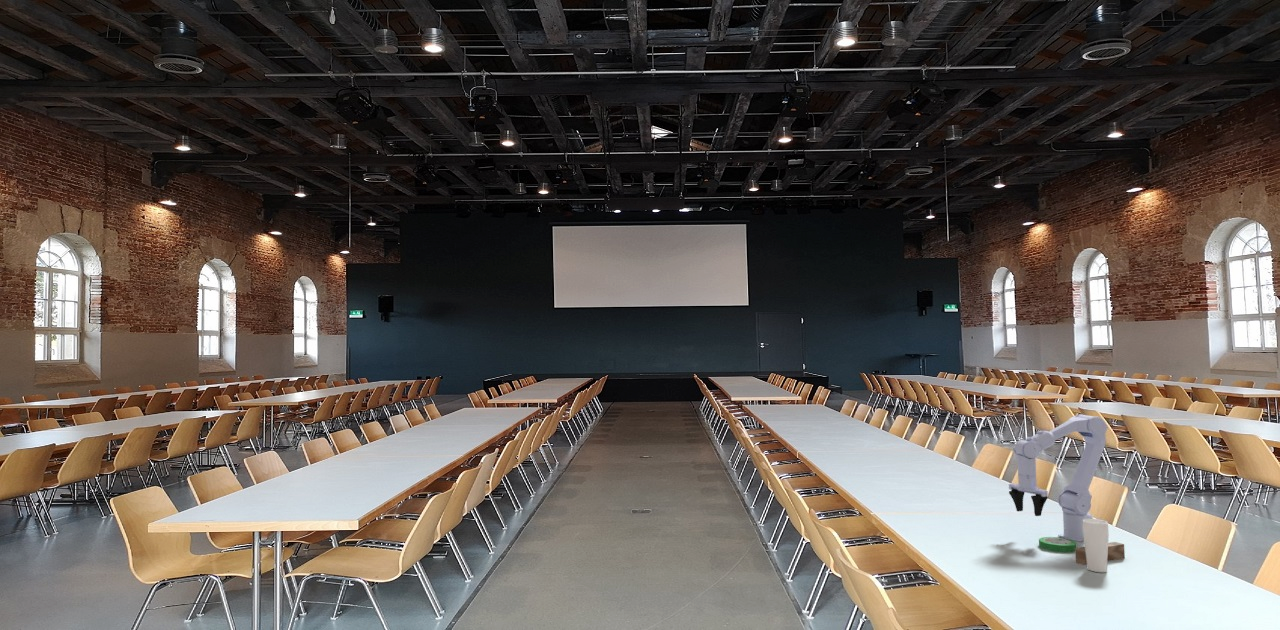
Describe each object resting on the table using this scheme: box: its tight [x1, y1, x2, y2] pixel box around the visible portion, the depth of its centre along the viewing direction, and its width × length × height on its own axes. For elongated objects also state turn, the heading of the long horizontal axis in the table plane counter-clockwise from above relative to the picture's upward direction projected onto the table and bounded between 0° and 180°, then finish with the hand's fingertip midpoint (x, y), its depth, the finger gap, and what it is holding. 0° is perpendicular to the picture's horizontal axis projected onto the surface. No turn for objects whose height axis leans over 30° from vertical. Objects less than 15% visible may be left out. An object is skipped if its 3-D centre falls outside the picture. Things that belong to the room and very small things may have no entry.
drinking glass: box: [1083, 518, 1110, 573], centre depth 223 cm, size 7×7×15 cm
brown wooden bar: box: [1074, 541, 1126, 566], centre depth 232 cm, size 18×3×4 cm, turn 110°
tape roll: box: [1038, 536, 1077, 554], centre depth 246 cm, size 11×11×3 cm
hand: (1028, 513), depth 257 cm, fingers open, 7 cm apart
